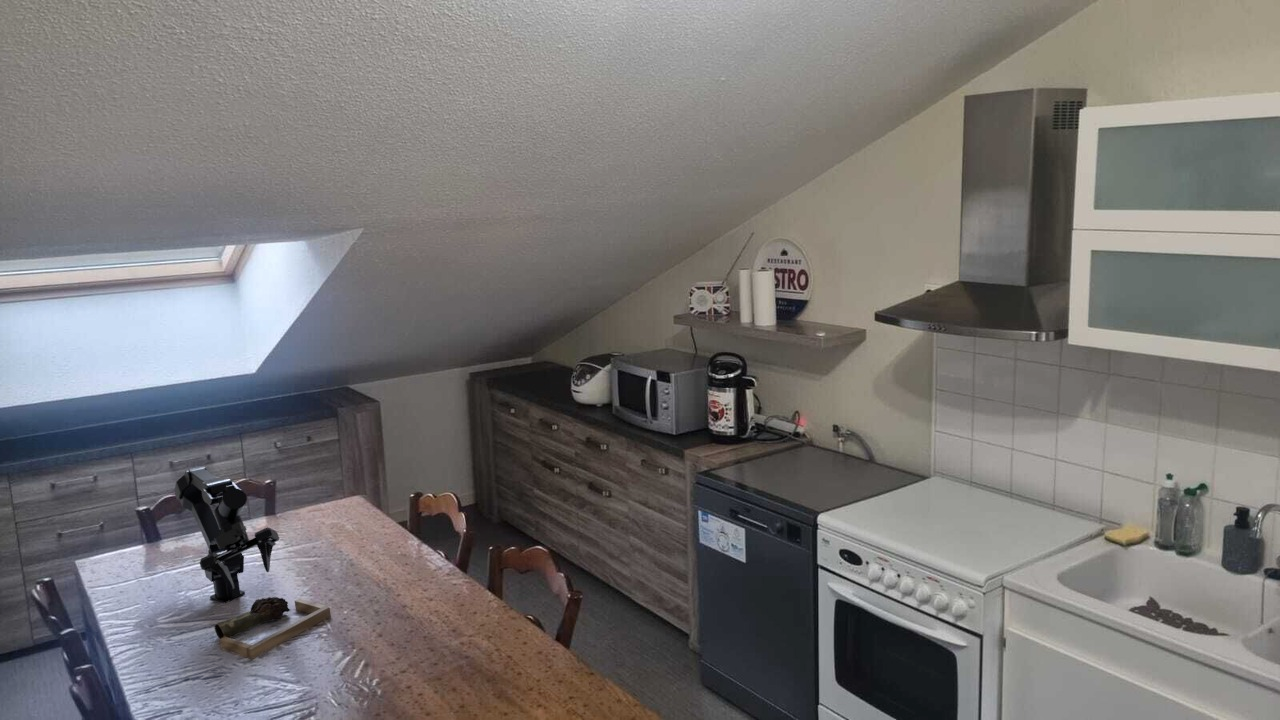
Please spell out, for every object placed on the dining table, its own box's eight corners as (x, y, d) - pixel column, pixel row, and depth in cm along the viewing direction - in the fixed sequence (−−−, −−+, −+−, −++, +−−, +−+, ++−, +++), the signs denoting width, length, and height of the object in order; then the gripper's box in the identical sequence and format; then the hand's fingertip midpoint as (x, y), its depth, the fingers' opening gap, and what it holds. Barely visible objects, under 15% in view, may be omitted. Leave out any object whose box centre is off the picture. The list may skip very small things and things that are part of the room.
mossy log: (224, 644, 232) (221, 622, 231) (212, 635, 236) (209, 614, 235) (292, 616, 244) (289, 596, 243) (280, 609, 249) (277, 589, 248)
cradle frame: (220, 648, 229) (219, 639, 228) (300, 607, 249) (299, 598, 249) (252, 659, 223) (250, 649, 223) (330, 615, 244) (329, 606, 243)
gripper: (181, 535, 235) (200, 593, 231) (253, 502, 238) (274, 558, 233) (201, 543, 246) (220, 598, 241) (269, 511, 249) (289, 565, 244)
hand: (250, 580), depth 240 cm, fingers open, 9 cm apart
